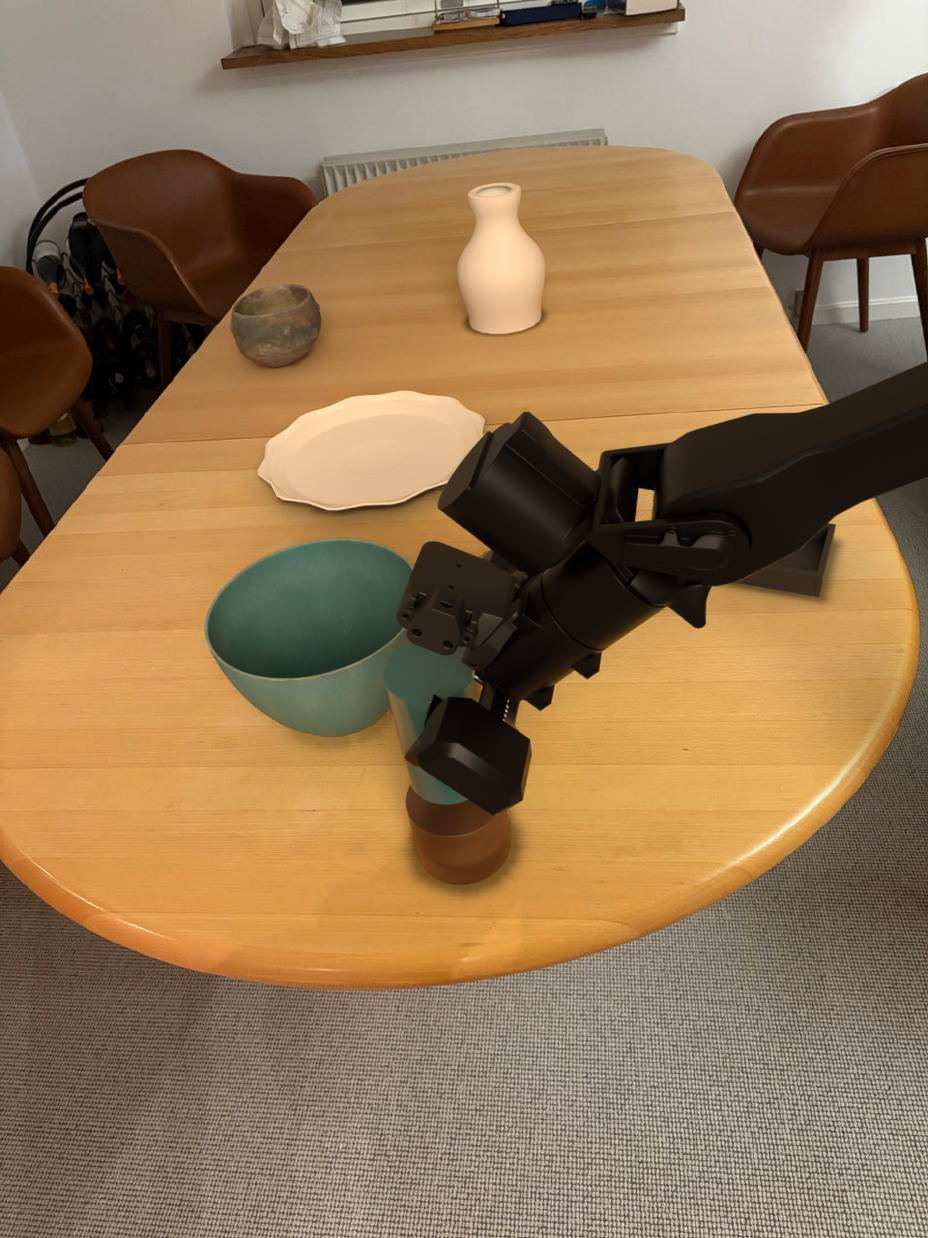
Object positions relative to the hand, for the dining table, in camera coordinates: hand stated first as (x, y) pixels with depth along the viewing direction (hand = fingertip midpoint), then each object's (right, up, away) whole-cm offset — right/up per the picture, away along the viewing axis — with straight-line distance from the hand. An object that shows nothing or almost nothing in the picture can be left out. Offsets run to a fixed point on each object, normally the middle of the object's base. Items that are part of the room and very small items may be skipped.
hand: (422, 724), depth 60 cm
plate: (-9, +28, +55) cm, 63 cm away
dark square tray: (+35, +13, +30) cm, 48 cm away
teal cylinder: (+2, -4, +3) cm, 5 cm away
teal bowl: (-8, -1, +22) cm, 23 cm away
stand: (+3, -10, +8) cm, 13 cm away
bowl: (-26, +49, +84) cm, 101 cm away
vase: (+10, +57, +86) cm, 104 cm away
